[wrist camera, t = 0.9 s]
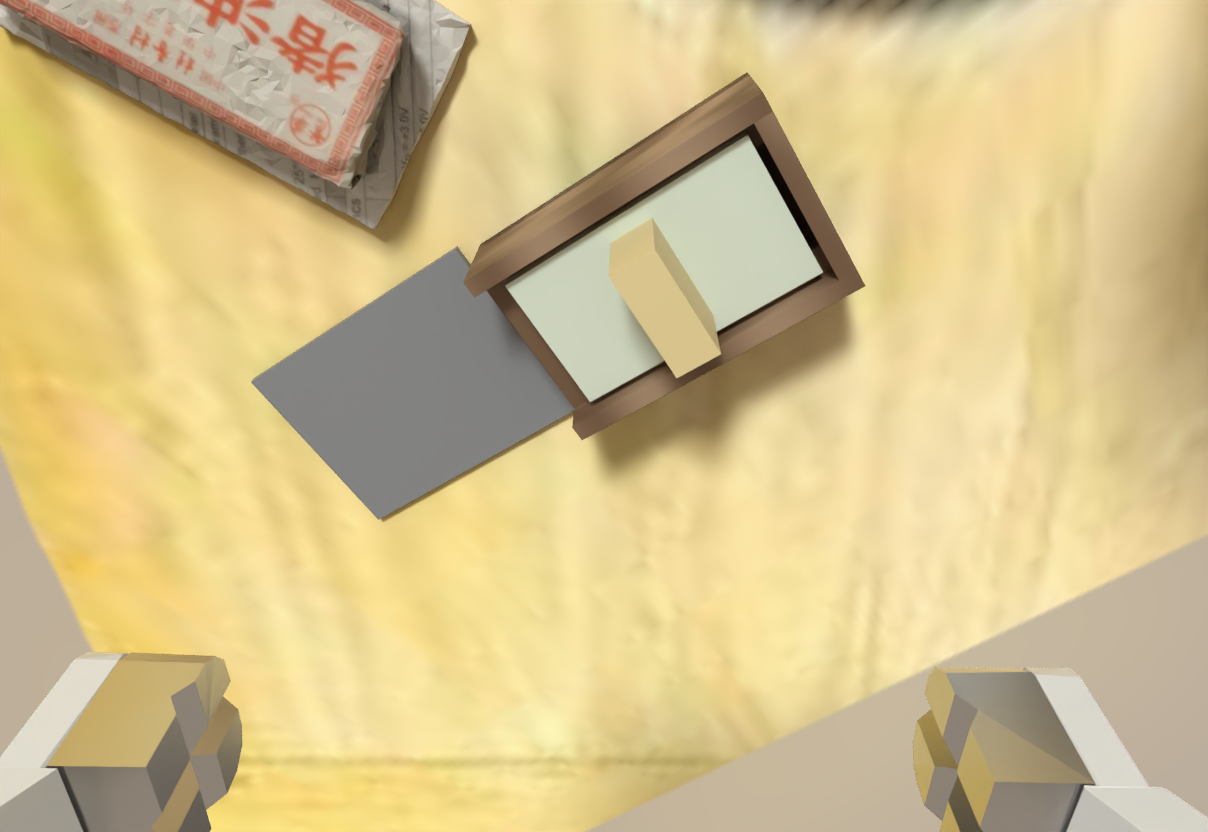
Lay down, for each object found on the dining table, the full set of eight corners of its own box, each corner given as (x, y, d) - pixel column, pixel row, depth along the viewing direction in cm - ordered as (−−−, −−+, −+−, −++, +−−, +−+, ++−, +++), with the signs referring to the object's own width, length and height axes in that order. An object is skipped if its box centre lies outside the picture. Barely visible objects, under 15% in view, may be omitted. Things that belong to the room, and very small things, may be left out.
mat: (456, 246, 41) (455, 249, 41) (575, 406, 45) (575, 409, 45) (254, 378, 45) (251, 382, 44) (380, 515, 49) (378, 519, 48)
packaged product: (-92, 19, 33) (-42, -271, 29) (-10, 8, 37) (44, -246, 33) (356, 256, 37) (458, 34, 33) (384, 222, 41) (478, 21, 37)
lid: (745, 130, 35) (761, 159, 31) (819, 265, 37) (843, 309, 33) (507, 279, 38) (492, 323, 34) (590, 393, 41) (586, 448, 37)
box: (747, 72, 37) (763, 92, 33) (839, 247, 41) (864, 285, 36) (480, 244, 41) (463, 282, 37) (586, 389, 45) (582, 440, 40)
